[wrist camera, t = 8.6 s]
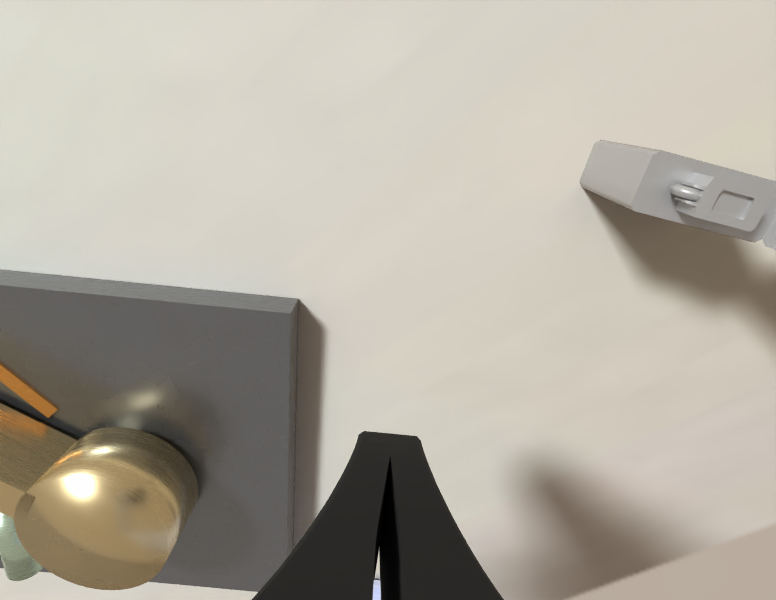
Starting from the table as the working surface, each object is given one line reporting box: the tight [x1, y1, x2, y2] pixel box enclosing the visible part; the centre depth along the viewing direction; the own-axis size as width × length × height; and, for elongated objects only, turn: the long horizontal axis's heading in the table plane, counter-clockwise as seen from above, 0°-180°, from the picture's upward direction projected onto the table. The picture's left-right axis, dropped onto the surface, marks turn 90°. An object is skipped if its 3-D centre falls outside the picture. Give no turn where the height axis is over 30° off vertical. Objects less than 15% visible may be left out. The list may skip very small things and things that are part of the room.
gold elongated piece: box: [0, 403, 198, 590], centre depth 19 cm, size 14×6×3 cm, turn 57°
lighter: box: [580, 140, 776, 249], centre depth 14 cm, size 7×2×8 cm, turn 76°
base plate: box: [0, 270, 298, 592], centre depth 21 cm, size 16×16×3 cm
